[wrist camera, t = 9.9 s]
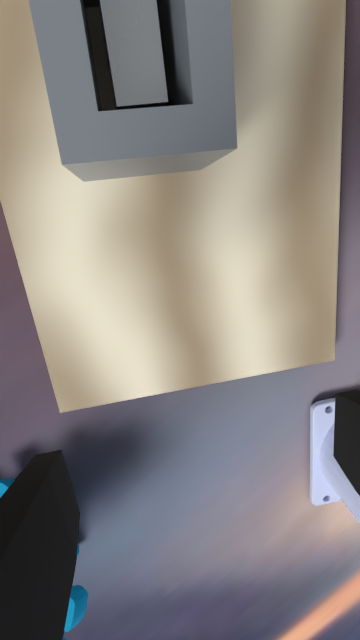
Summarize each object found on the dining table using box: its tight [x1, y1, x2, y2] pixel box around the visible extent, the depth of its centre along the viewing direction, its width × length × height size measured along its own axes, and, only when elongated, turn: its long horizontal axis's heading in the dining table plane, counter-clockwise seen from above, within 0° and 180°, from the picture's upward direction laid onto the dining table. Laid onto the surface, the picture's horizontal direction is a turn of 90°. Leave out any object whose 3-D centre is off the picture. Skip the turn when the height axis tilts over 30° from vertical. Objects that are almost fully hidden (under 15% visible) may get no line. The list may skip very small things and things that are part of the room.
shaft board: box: [0, 0, 346, 413], centre depth 15 cm, size 15×20×1 cm
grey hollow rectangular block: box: [29, 0, 237, 182], centre depth 11 cm, size 5×7×5 cm
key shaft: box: [98, 0, 168, 110], centre depth 11 cm, size 2×4×4 cm, turn 7°
